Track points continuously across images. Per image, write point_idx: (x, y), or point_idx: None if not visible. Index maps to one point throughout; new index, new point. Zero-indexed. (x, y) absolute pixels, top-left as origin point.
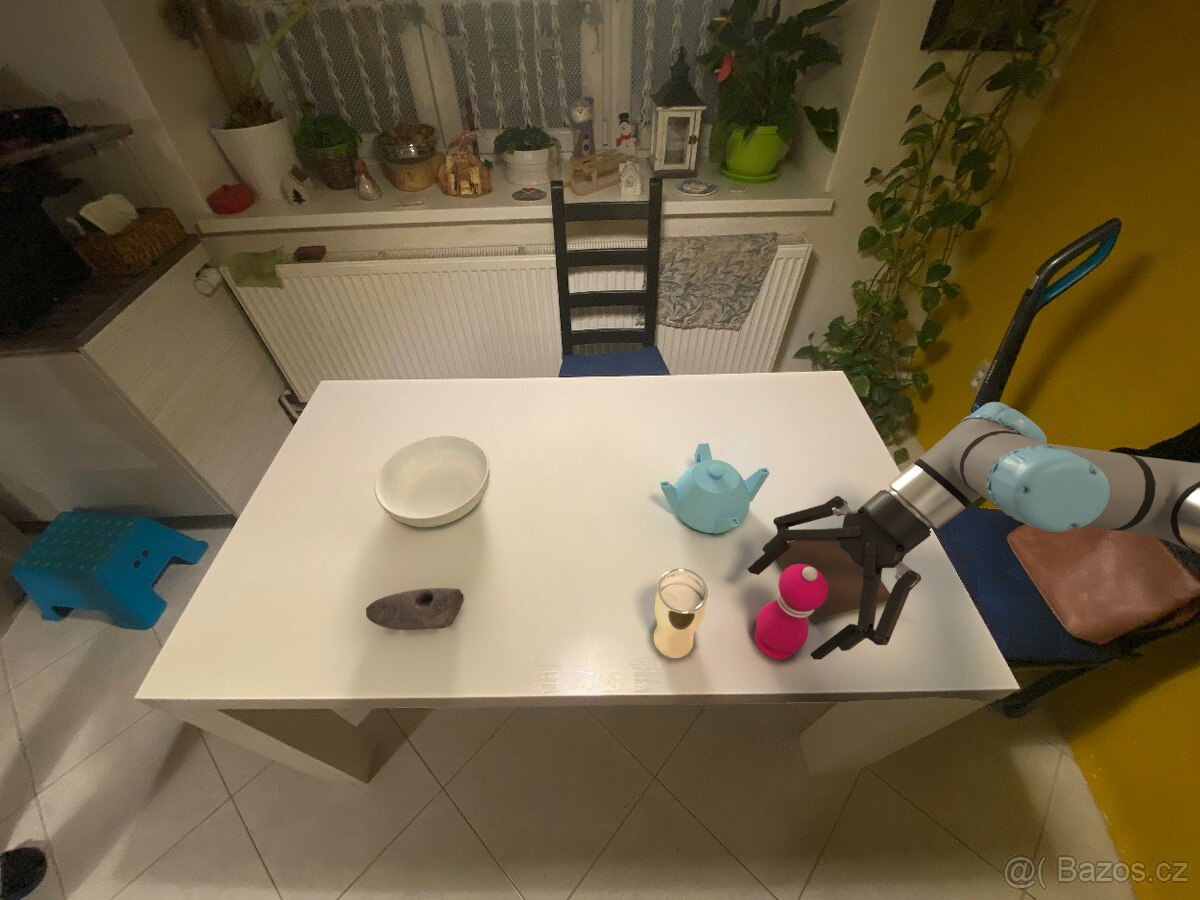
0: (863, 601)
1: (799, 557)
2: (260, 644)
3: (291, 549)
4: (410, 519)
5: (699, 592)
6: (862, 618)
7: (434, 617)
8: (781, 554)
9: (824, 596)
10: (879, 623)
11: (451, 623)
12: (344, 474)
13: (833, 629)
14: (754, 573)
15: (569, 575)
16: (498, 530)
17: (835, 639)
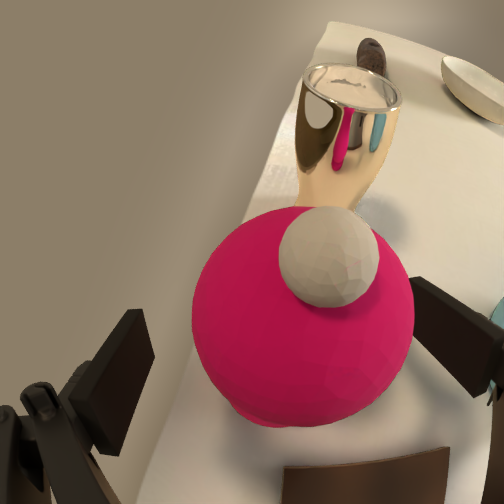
0: (88, 491)
1: (414, 491)
2: (352, 35)
3: (414, 50)
4: (442, 60)
5: (365, 159)
6: (59, 438)
7: (361, 55)
8: (452, 369)
9: (203, 348)
10: (5, 455)
11: None
12: None
13: (257, 493)
14: None
15: (417, 150)
16: (456, 122)
17: (104, 352)
